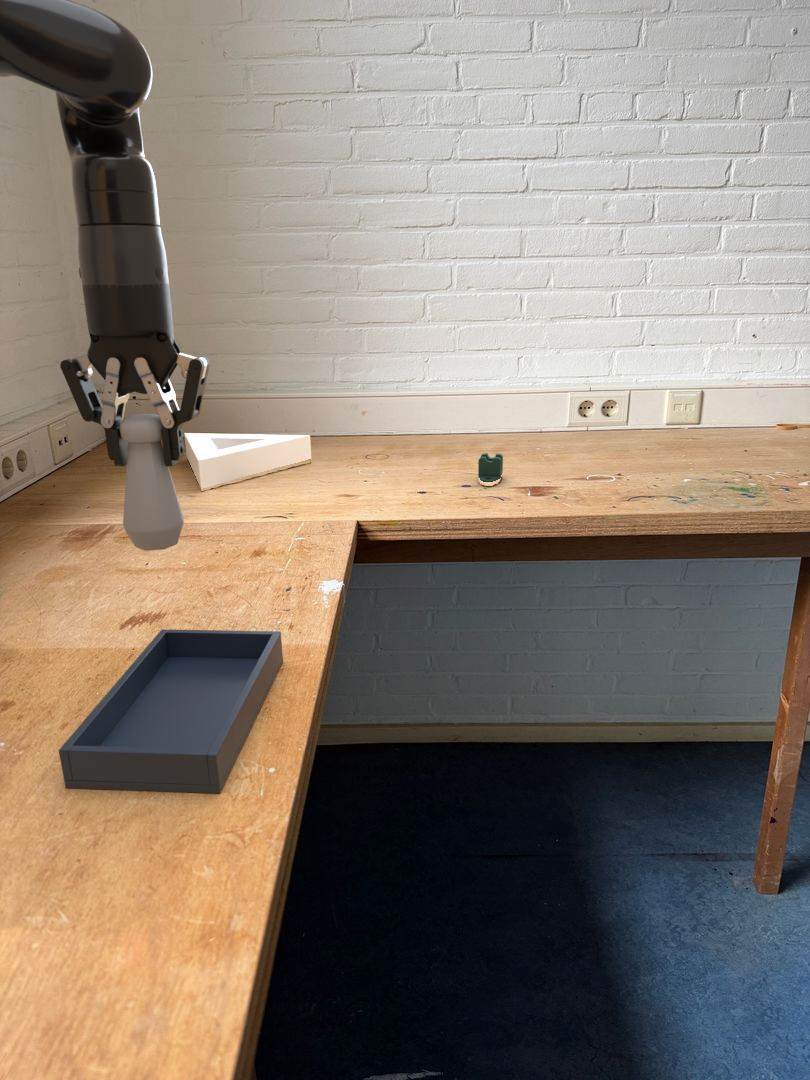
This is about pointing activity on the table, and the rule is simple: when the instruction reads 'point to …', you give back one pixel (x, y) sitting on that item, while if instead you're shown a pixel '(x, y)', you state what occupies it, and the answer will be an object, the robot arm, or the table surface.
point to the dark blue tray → (176, 714)
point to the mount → (490, 467)
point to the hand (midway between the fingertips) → (147, 463)
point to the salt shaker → (149, 486)
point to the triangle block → (241, 454)
